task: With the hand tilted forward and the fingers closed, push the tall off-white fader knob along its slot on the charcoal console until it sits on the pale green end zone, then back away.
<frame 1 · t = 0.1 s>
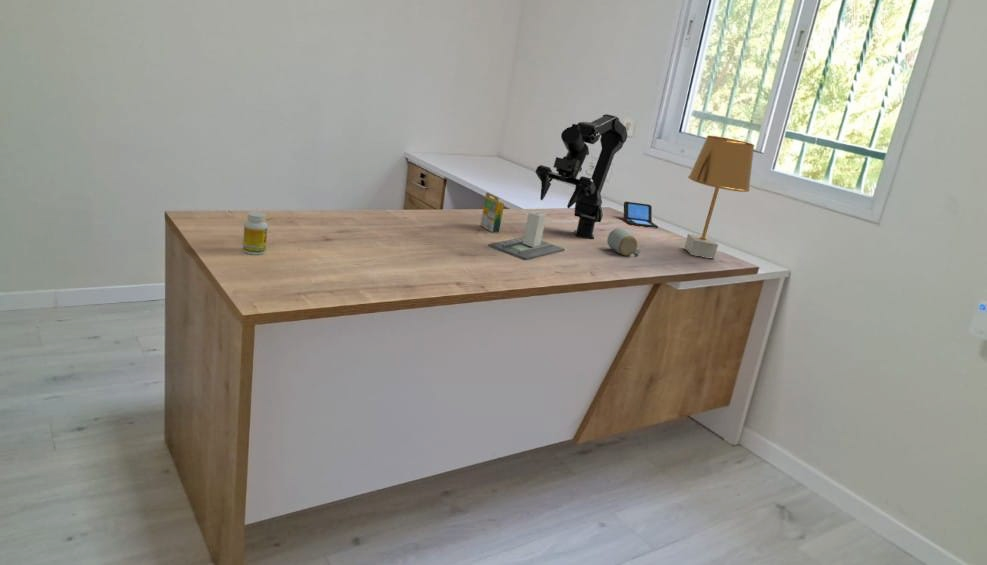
hand: (554, 203, 212), 15 cm above the table, tool tilted 35°, fingers open, 9 cm apart
fader console: (527, 248, 215), on the table
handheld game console: (638, 224, 279), on the table
fader knob: (534, 229, 214), point 6 cm above the table, slide at 0.0 cm
crayon box: (489, 229, 229), on the table
lamp: (698, 254, 247), on the table
ceramic mug: (623, 253, 230), on the table
supplement bottle: (254, 252, 169), on the table
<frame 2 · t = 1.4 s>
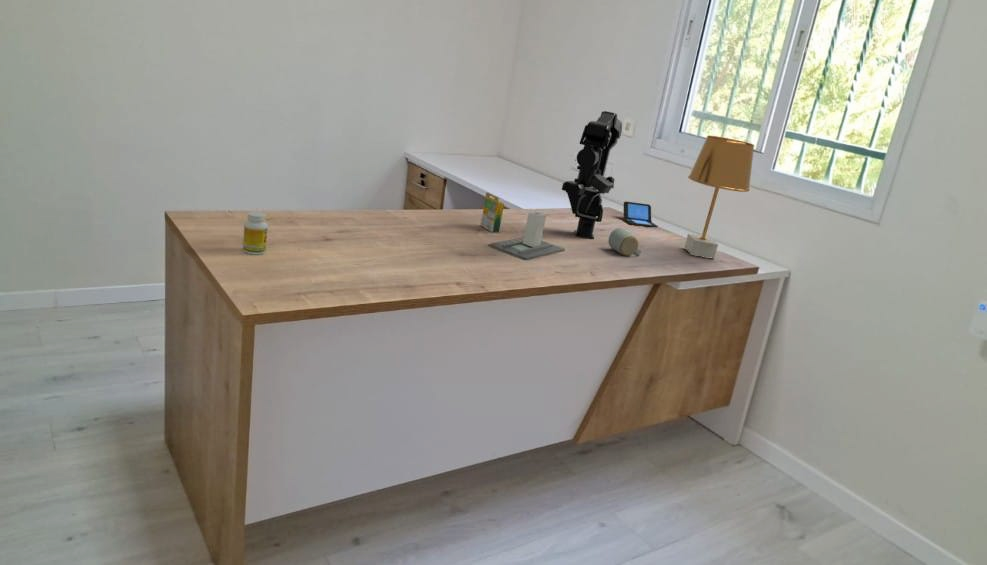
hand: (579, 213, 219), 12 cm above the table, tool pointing down, fingers open, 6 cm apart
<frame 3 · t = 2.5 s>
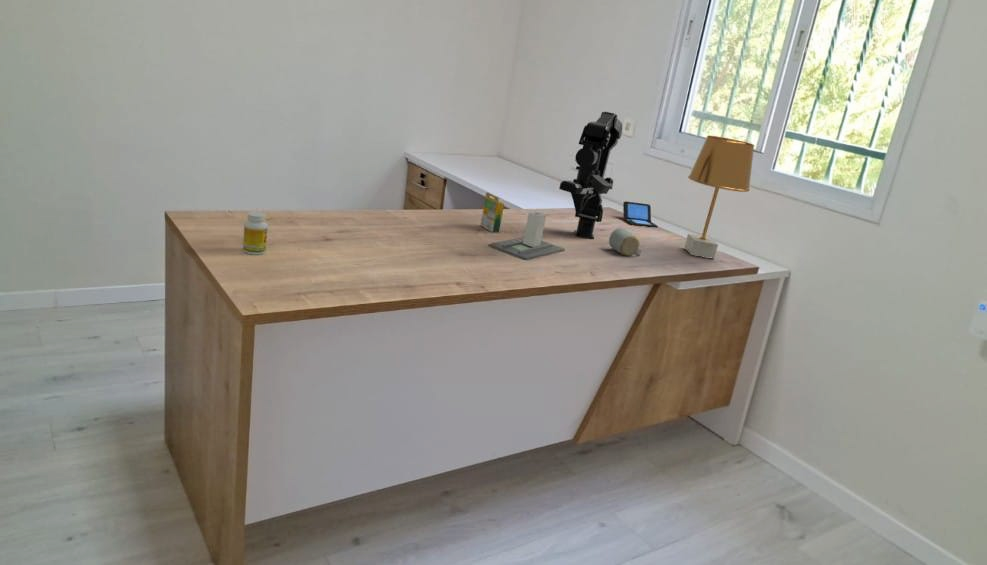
hand: (578, 213, 219), 12 cm above the table, tool pointing down, fingers closed
nothing on the table moved.
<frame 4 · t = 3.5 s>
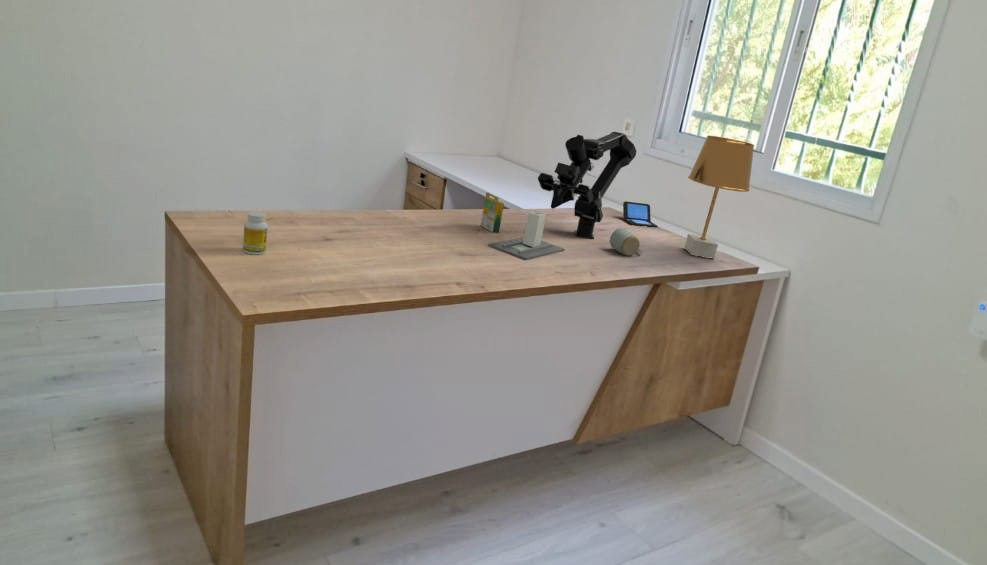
hand: (551, 207, 218), 12 cm above the table, tool tilted 45°, fingers closed
nothing on the table moved.
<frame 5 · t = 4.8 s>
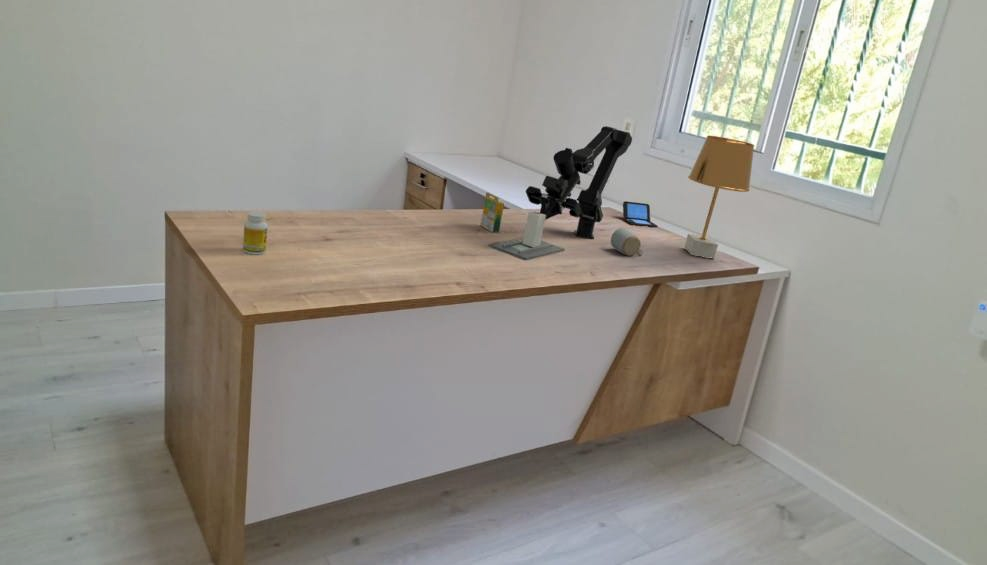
hand: (539, 221, 215), 8 cm above the table, tool tilted 45°, fingers closed, pressing on fader knob
fader knob: (534, 229, 214), point 6 cm above the table, slide at 0.2 cm, touching gripper
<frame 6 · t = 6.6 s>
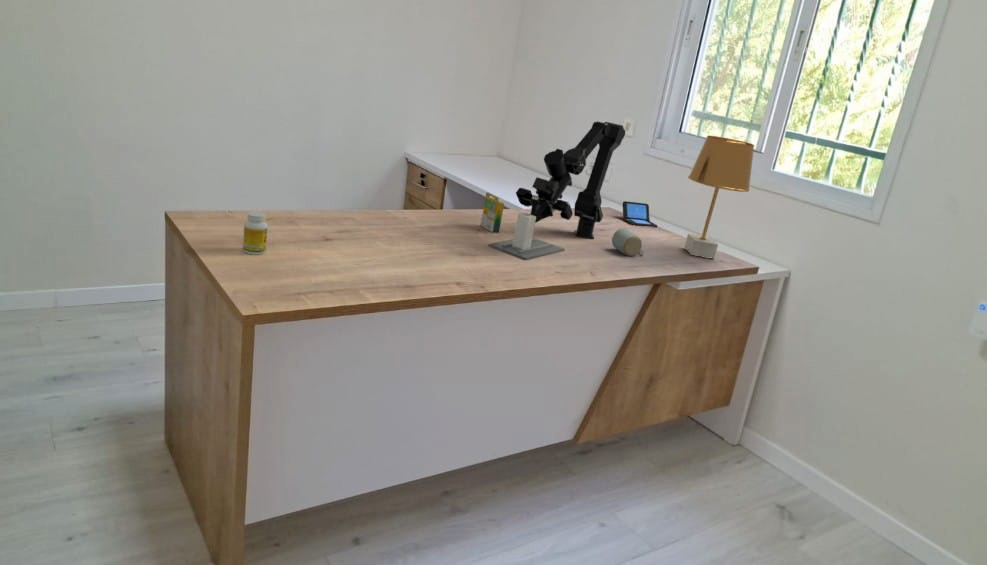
hand: (529, 223, 211), 8 cm above the table, tool tilted 45°, fingers closed
fader knob: (524, 231, 210), point 6 cm above the table, slide at 5.7 cm
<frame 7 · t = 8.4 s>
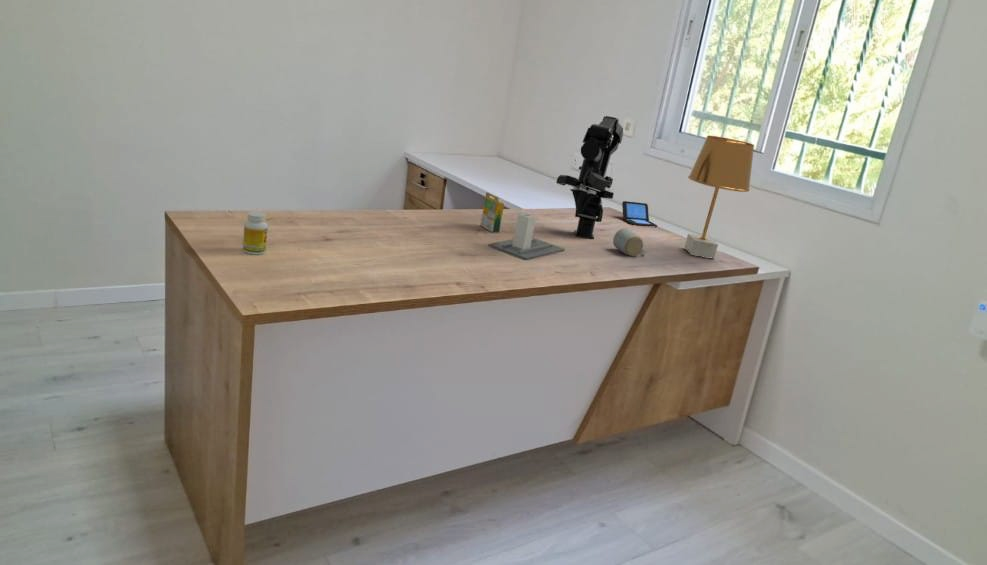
hand: (578, 213, 219), 12 cm above the table, tool tilted 15°, fingers closed
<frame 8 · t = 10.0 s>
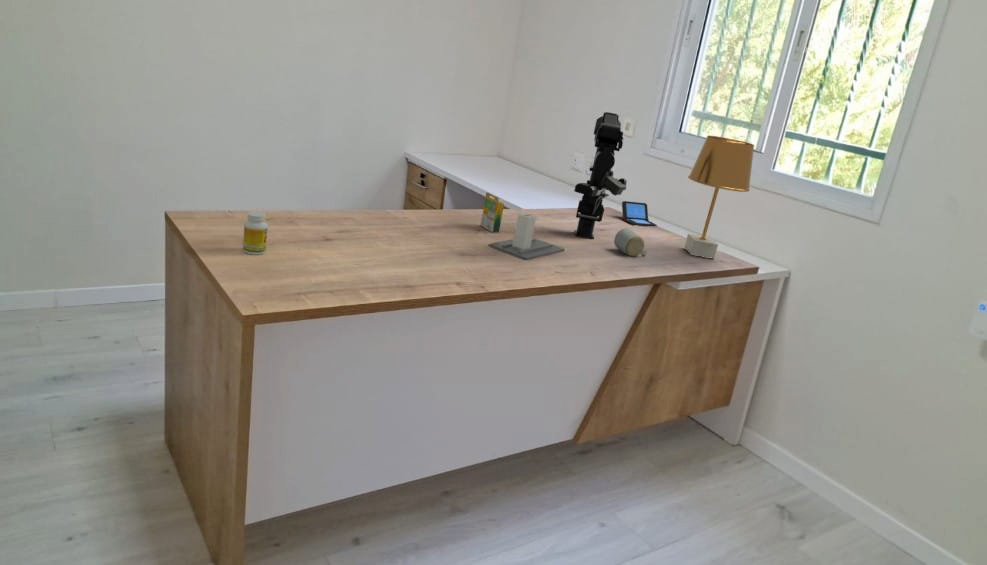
hand: (591, 214, 220), 12 cm above the table, tool pointing down, fingers closed
at the end: fader knob slide at 5.7 cm; the gripper is holding nothing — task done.
